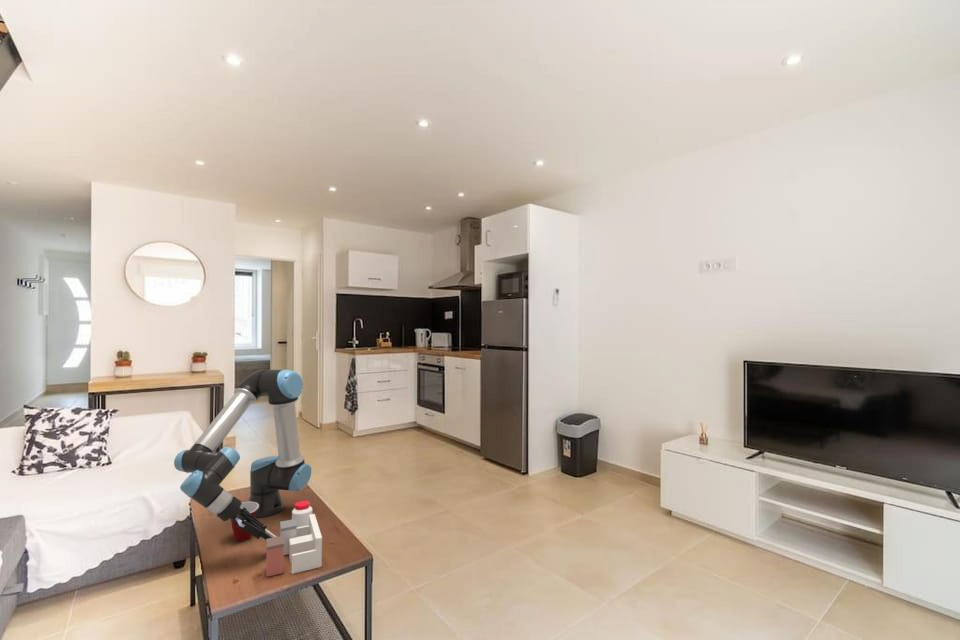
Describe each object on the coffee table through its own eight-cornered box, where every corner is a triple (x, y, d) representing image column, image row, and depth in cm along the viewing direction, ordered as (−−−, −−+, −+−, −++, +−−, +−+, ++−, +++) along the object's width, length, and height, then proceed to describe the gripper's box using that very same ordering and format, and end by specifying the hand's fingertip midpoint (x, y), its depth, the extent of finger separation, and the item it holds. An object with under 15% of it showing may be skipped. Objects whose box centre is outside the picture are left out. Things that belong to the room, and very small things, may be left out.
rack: (287, 545, 162) (287, 518, 163) (314, 539, 167) (314, 513, 167) (291, 573, 144) (292, 543, 144) (321, 566, 148) (322, 537, 148)
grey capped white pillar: (279, 548, 160) (280, 521, 160) (294, 544, 162) (295, 518, 162) (280, 556, 154) (280, 528, 155) (296, 552, 157) (296, 525, 157)
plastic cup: (226, 547, 161) (226, 515, 161) (227, 534, 170) (228, 504, 170) (258, 540, 166) (259, 509, 166) (258, 529, 175) (259, 499, 175)
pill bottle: (304, 536, 170) (305, 508, 170) (287, 534, 171) (287, 506, 171) (316, 527, 177) (316, 500, 177) (299, 525, 179) (299, 498, 179)
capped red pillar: (265, 567, 147) (266, 538, 147) (282, 563, 149) (282, 535, 150) (266, 577, 142) (266, 547, 142) (283, 573, 144) (284, 543, 144)
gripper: (217, 507, 153) (268, 543, 161) (213, 522, 142) (269, 560, 149) (234, 489, 156) (284, 526, 163) (232, 503, 144) (286, 542, 152)
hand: (276, 542), depth 156 cm, fingers closed
